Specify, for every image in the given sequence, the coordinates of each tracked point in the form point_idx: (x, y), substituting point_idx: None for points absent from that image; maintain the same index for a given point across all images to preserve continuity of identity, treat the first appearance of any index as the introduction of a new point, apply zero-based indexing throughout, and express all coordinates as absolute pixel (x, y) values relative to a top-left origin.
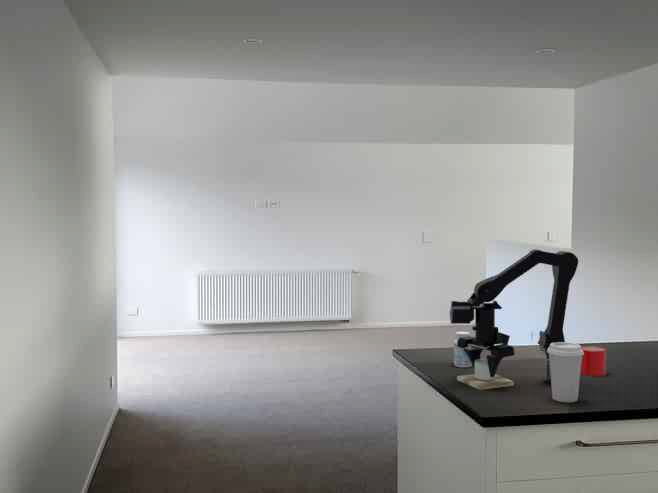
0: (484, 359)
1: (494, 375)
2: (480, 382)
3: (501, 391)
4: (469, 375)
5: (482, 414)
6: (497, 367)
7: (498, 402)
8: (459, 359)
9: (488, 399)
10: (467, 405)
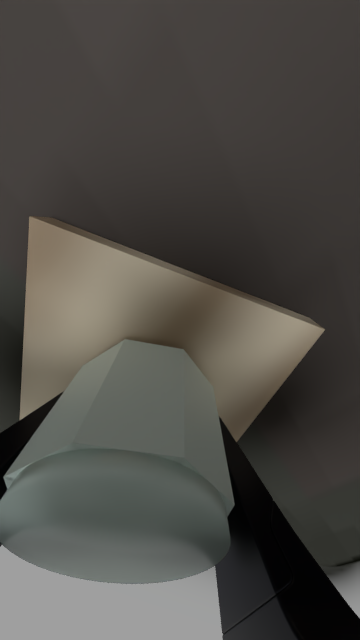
0: (44, 509)
1: (223, 424)
2: None
3: (289, 430)
4: (38, 389)
5: (319, 562)
6: (265, 489)
7: (326, 508)
8: None
9: (286, 504)
10: None
